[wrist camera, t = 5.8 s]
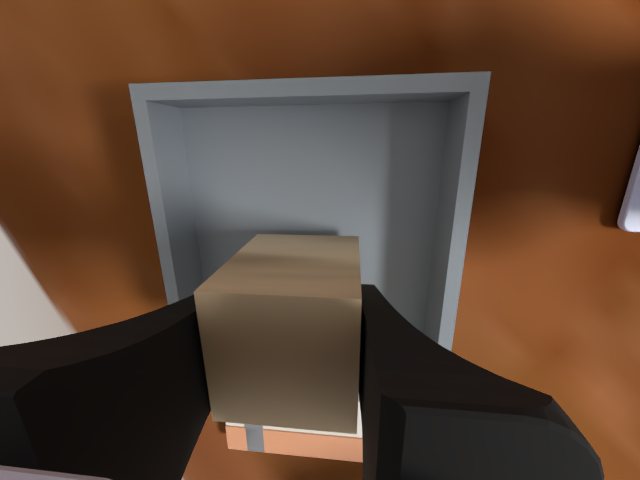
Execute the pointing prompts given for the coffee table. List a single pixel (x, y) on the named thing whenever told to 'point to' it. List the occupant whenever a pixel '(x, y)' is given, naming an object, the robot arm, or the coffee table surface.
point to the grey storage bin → (319, 176)
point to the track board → (297, 441)
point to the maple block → (284, 333)
